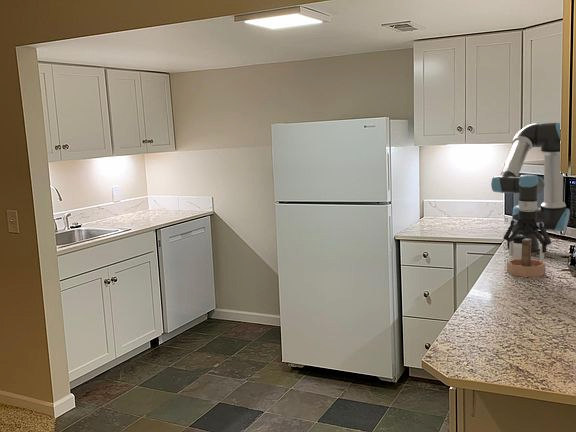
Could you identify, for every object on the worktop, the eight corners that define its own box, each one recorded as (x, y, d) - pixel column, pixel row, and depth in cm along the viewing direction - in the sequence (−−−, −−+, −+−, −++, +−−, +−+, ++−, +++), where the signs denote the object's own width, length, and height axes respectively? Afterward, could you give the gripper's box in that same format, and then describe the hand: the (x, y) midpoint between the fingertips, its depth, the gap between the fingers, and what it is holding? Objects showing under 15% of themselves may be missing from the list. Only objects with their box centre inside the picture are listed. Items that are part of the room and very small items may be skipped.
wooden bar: (524, 268, 264) (525, 238, 262) (530, 269, 263) (531, 239, 260) (520, 270, 262) (522, 239, 259) (526, 271, 260) (527, 240, 258)
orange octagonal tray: (516, 266, 273) (516, 257, 272) (548, 271, 262) (549, 261, 262) (502, 273, 262) (502, 263, 262) (535, 278, 252) (535, 268, 251)
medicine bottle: (527, 261, 281) (528, 237, 279) (511, 261, 282) (512, 237, 280) (524, 258, 287) (525, 234, 286) (509, 258, 289) (509, 234, 287)
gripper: (496, 209, 264) (495, 255, 267) (553, 213, 247) (551, 263, 250) (503, 206, 269) (502, 252, 273) (560, 211, 252) (558, 260, 255)
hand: (526, 257), depth 261 cm, fingers open, 13 cm apart
